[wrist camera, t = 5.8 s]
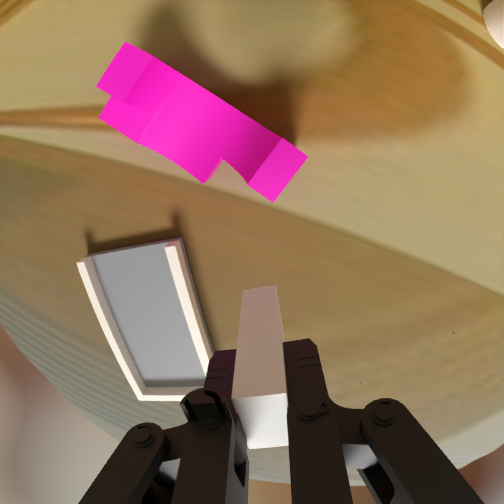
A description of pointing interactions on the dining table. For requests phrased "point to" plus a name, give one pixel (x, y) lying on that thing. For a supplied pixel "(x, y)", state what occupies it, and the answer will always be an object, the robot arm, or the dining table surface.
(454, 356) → the dining table surface
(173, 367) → the tray
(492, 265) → the dining table surface
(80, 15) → the dining table surface
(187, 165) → the toy block
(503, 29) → the foam cup
